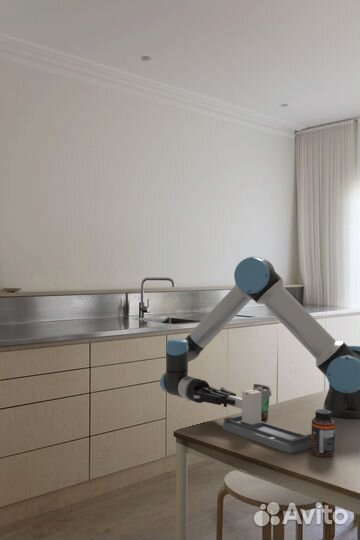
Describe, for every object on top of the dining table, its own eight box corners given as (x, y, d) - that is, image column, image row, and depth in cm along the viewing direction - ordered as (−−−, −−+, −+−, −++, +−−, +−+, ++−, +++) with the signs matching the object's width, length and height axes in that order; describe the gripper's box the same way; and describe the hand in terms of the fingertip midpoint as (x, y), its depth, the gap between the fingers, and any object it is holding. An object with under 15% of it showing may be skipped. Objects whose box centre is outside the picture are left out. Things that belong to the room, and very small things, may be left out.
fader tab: (251, 421, 160) (251, 388, 160) (263, 425, 156) (263, 391, 156) (239, 424, 157) (239, 391, 157) (251, 428, 153) (252, 394, 153)
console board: (246, 423, 165) (246, 413, 165) (314, 446, 144) (314, 434, 144) (222, 429, 159) (223, 418, 159) (290, 453, 138) (290, 441, 138)
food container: (270, 425, 164) (271, 392, 164) (250, 423, 165) (251, 391, 165) (271, 414, 176) (272, 384, 176) (253, 413, 177) (253, 383, 177)
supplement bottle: (308, 450, 141) (308, 408, 141) (329, 449, 142) (330, 407, 142) (315, 458, 135) (315, 414, 135) (338, 457, 136) (338, 414, 136)
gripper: (209, 398, 180) (259, 413, 162) (179, 403, 172) (228, 420, 154) (209, 376, 180) (260, 389, 162) (179, 380, 172) (228, 394, 154)
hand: (244, 404), depth 158 cm, fingers closed
